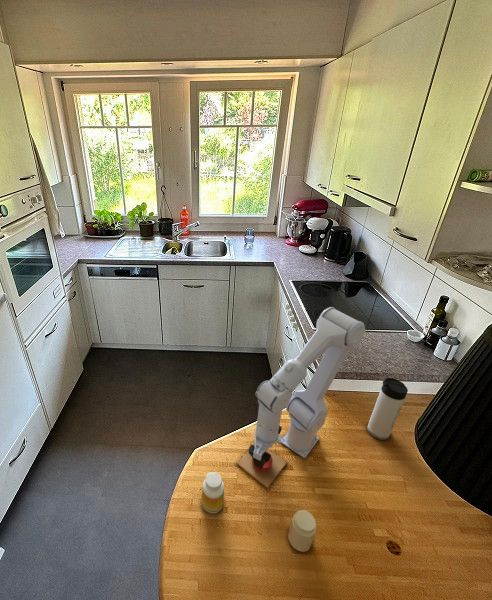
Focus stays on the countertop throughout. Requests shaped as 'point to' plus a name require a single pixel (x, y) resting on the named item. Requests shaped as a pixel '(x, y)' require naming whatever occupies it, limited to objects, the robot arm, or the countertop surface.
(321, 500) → the countertop surface
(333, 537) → the countertop surface
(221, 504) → the supplement bottle
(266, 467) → the lid
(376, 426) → the travel mug
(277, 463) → the trivet
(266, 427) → the robot arm
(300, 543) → the jar
